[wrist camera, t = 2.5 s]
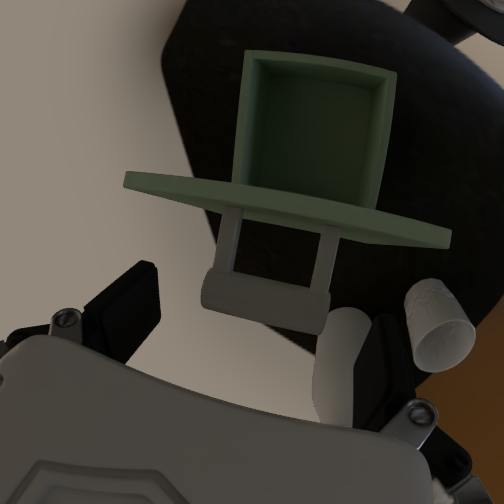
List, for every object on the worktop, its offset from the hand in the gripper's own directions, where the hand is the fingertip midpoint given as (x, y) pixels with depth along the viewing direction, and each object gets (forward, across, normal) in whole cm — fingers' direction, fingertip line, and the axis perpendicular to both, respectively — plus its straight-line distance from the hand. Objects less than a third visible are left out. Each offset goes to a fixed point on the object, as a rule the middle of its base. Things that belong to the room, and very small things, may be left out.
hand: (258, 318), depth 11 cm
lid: (+7, 0, -2) cm, 8 cm away
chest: (+24, 0, -7) cm, 24 cm away
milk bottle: (+24, -9, +17) cm, 31 cm away
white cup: (+24, -19, +10) cm, 32 cm away
